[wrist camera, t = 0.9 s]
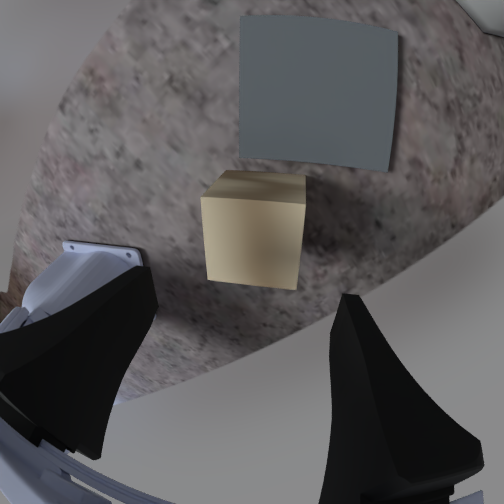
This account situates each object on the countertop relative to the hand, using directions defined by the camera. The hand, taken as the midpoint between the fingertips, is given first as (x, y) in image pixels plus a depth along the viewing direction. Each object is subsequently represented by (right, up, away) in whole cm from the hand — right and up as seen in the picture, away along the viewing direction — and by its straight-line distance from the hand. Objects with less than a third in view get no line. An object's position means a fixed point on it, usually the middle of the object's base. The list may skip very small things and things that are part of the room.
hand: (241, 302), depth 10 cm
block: (+1, +5, +8) cm, 10 cm away
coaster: (+4, +11, +4) cm, 12 cm away
